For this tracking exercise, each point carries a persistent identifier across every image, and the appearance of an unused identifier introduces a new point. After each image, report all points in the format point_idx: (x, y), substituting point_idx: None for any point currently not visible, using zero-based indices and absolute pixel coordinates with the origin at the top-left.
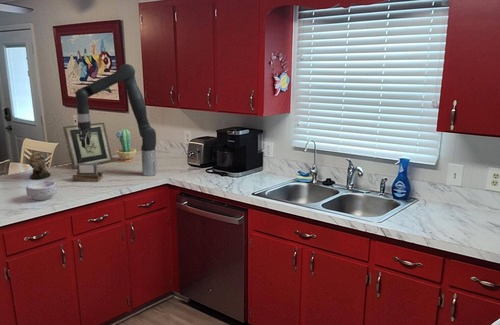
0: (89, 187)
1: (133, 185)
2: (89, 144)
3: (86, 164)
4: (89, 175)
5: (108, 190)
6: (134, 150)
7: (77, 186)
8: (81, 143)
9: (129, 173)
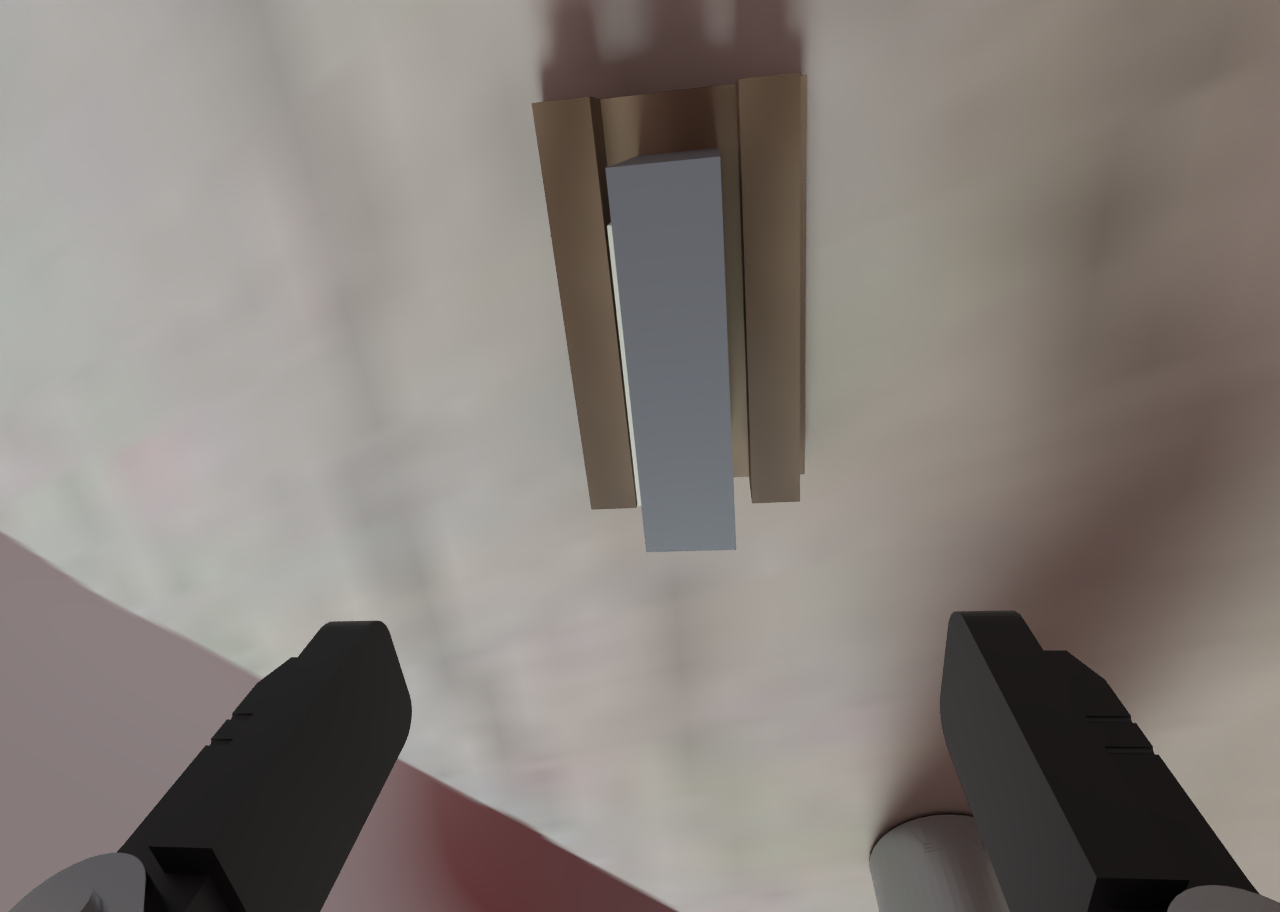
0: (343, 459)
1: (513, 802)
2: (943, 729)
3: (630, 388)
4: (575, 396)
5: None
6: None
7: (339, 300)
8: (223, 751)
9: None
